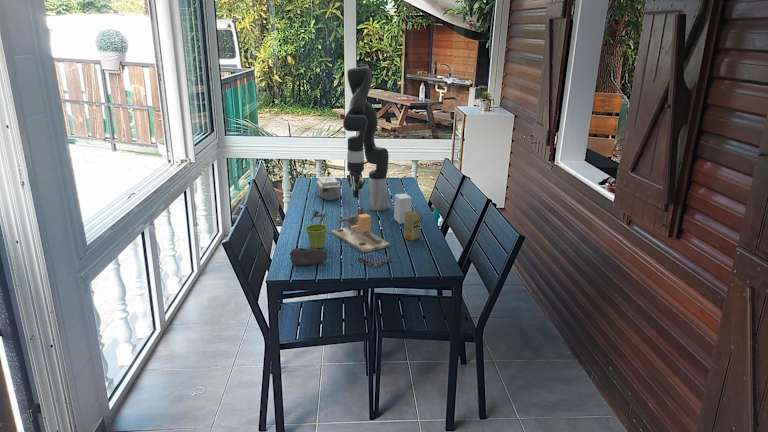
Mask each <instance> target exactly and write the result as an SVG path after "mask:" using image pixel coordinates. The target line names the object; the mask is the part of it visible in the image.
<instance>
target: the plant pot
mask: <svg viewBox="0 0 768 432" xmlns="http://www.w3.org/2000/svg"><path fill="white" fill-rule="evenodd" d="M327 230H328V226H327V225H326V224H323V223H321V224H319V223H316V224H315V223H314V224H309V225H308V226H306V227H305V231H306V234H307V236H308V242H309V243H308V244H309V248H312V249H322V248H324V247H325V243H326V241H325V240H326V233H327Z"/></svg>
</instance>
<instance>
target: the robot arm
mask: <svg viewBox="0 0 768 432" xmlns="http://www.w3.org/2000/svg"><path fill="white" fill-rule="evenodd" d="M372 74H373V73H372V70H371V69H370V67H368V66H358V67H353V68H349V69H348V70H347V72H346V75H347V80H348V85H349V89H350V92H351V94H352V96H351V99H350V102H349V107H348V108H349V109H348V111H347V113H346V114H345V116H344V118H343V123H342V125H343V128H344V130H345V131H347V132H358V134H357V135H353V136H352V135H351V136H349V137H348V138H347V155H346V157H347V158H346V160H347V165H346V166H347V171H348V173H349V174H346V178H347V182H348V185H349V187H350V188H351V190H352V198H355V199H357V198H360V197H359V195H360V192H359V191H360V190H362V189H363V187H364V185H365V183H366V180H365V179H363V174H362V172H364V170H365V160H366V161H367V163H369V164H372V165H376V166H375V169H373V170H371V171H369V173H368V210H370V211H374V212H380V211H381V212H382V211H385V210H386V209H388V206H389V202H388V201H389V200H388V199H389V198H388V197H389V196H388V195H389V192H388V190H387V174H388V171H389V170H388V169H389V159H390V158H389V152H388V149H386V148H385V147H380V146H377V145H376V142H375V133H376V130H377V128H378V124H379V123H378V122H379V121H378V117H377V113H376V110H375V108H374V107H373V105H372V104H371V103H370V102H369V101H368V100H367V99H368V95H369V93H370V89H371V86H372V82H373V75H372Z"/></svg>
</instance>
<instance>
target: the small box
mask: <svg viewBox="0 0 768 432" xmlns="http://www.w3.org/2000/svg"><path fill="white" fill-rule="evenodd" d="M393 197H394V199H393V200H394V201H393V219H394V220H395V221H396V222H397V223H398V224H399V225H401V224H403V225H404V213H406V212H409V211H413V210H412V209H413V208H412V207H413V206H412V205H413V202H412V201H413V197H411V196H410V195H408V194H407V193H397V194H396V193H395V194H394V195H393Z"/></svg>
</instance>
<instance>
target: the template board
mask: <svg viewBox="0 0 768 432" xmlns="http://www.w3.org/2000/svg"><path fill="white" fill-rule="evenodd" d="M356 219H357V215H355V214H352V215H351V214H350V215H347V217H345V218H340V219H339V218H338V228H337V229H332V230H331V234H333V235H334V236H335V237H337V238H339V239H340V240H342V241H343V242H345V243H346V244H348V245H350V246H351V247H352V248H354V249H356V250H358V251H359V252H361V253H362V254H365V253H370V252H374V251H377V250H380V249H384V248H385V249H386V248H389V247H390V246H391V243H390V242H388V241H386V240H384V239H383V238H381V237H379V236H377V235H376V234H374V233H372V232H371V231H367V232H361V231H359V230H358V228H355V229H353V235H351V229H350V227H351V226H355V225H356ZM342 222H347V225H348V226H346V227H342Z"/></svg>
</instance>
